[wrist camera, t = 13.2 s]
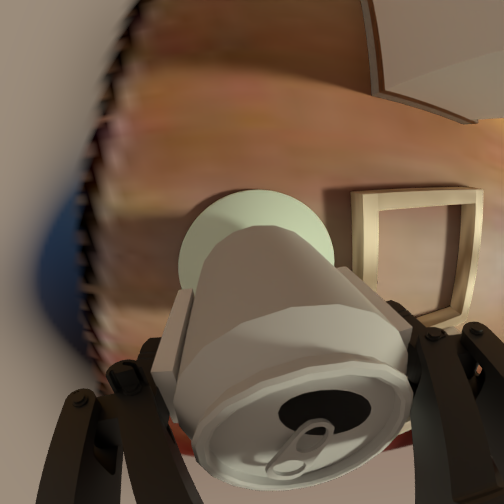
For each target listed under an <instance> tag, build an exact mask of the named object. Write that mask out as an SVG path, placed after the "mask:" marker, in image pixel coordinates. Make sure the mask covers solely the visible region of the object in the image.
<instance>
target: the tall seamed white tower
mask: <svg viewBox="0 0 504 504" xmlns="http://www.w3.org/2000/svg"><path fill="white" fill-rule="evenodd" d="M361 5H362V11H363V17H364V23H365V30H366V38H367V46H368V55H369V65H370V77H371V93H372V96H375V97H379V98H383V99H387V100H391V101H395V102H399V103H402V104H406V105H409V106H413V107H416V108H419V109H422V110H425V111H429V112H432V113H434V114H437V115H440V116H443V117H446V118H448V119H451V120H454V121H456V122H459V123H461V124H477V123H478V119H493V118H504V0H361Z"/></svg>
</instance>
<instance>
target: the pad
mask: <svg viewBox="0 0 504 504" xmlns="http://www.w3.org/2000/svg"><path fill="white" fill-rule="evenodd" d="M253 225H275V226H278V227H281V228H284V229H287V230H291V231H294V232H295V233H297V234H298V235H299V236H301V237H302V238H303V239H305V240H306V241H307V242H308V243H310V244H311V245H312V246H313V247H314V248H315V249H316V250H317V251H318V252H319V253H320V254H322V255H323V256H324V257H325V258H326V259H327V260H328V261H329V262H330V263H331V264H332V265H333V266H334V251H333V246H332V242H331V239H330V237H329V234H328V232H327V230H326V228H325V226H324V224H323V223H322V222H321V220H320V219H319V218H318V216H317V215H316V214H315V213H314V212H313V211H312V210H311V209H310V208H308V207H307V206H306V205H304V204H303V203H302V202H300V201H298V200H296V199H294V198H293V197H290V196H288V195H285V194H283V193H280V192H275V191H271V190H261V189H255V190H245V191H240V192H236V193H233V194H230V195H227V196H225V197H223V198H221V199H219V200H217V201H216V202H214V203H213V204H211V205H210V206H208V207H207V208H206V209H205V210H204V211H203V212H202V213H201V214H200V215H199V216H198V217H197V218H196V219H195V221H194V222H193V224H192V225H191V227H190V228H189V230H188V231H187V233H186V236H185V238H184V240H183V242H182V246H181V249H180V254H179V261H178V273H179V280H180V284H181V288H182V289H189V288H193V292H194V297H195V293H196V289H197V284H198V280H199V277H200V273H201V270H202V266H203V263H204V261H205V259H206V258H207V256H208V255H209V253H210V252H211V251H212V249H213V248H214V246H215V245H216V244H217V243H219V242H220V241H222V240H223V239H224V238H226V237H227V236H228V235H230V234H231V233H233V232H235V231H238V230H241V229H244V228H247V227H250V226H253Z"/></svg>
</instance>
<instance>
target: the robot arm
mask: <svg viewBox="0 0 504 504" xmlns="http://www.w3.org/2000/svg"><path fill="white" fill-rule="evenodd" d="M336 269H337V270H338V271H339V272H340V273H341V274H342V275H343V276H344V277H345V278H347V279H348V280H349V281H350V282H351V283H352V284H353V285H354V286H355V287H356V288H357V289H358V290H359V291H360V292H361V293H362V294H363V295H364V296H365V297H366V298H367V299H368V300H369V301H370V302H371V303H372V304H373V305H374V306H375V307H376V308H377V309H378V310H379V311H380V312H381V313H382V314H383V315H384V316H385V317H386V319H387V320H388V321H389V322H390V323H391V324H392V325H393V326H394V327H395V328H396V329H397V330H398V331H399V333H400V336H401V338H402V340H403V343H404V345H405V347H406V350H407V352H408V364H407V379H408V381H409V384H410V386H411V388H412V391H413V401H412V407H411V413H410V419H411V428H412V438H413V450H414V466H415V504H504V343H503V342H502V341H501V340H500V339H499V338H498V337H497V336H496V335H495V334H494V333H493V332H492V331H491V330H490V329H489V328H488V327H486V326H485V325H484V324H481V323H479V322H468V323H466V324H465V325H464V326H463V329H462V333H461V334H455V335H448V334H447V333H446V331H444V330H443V329H441V328H437V327H425V326H424V325H423V324H422V323H421V322H420V321H419V320H418V319H417V318H415V317H414V316H413V315H411V313H410V312H409V311H408V310H407V311H406V309H405V308H404V307H403V306H402V305H401V304H399V303H397V302H394V301H392V300H390V301H386V302H385V301H384V300H383V299H382V298H381V297H380V296H379V295H378V294H377V293H376V292H374V291H373V290H372V289H371V288H370V287H369V286H368V285H367V284H366V283H364V282H363V281H362V280H361V279H360V278H359V277H358V276H357V275H355V274H354V273H353V272H352V271H351V270H350V269H349V268H347V267H346V266H344V267H338V268H336ZM193 302H194V292H193V288H189V289H181V290H178V293H177V296H176V298H175V301H174V304H173V307H172V309H171V312H170V315H169V318H168V321H167V324H166V326H165V329H164V332H163V335H162V337H159V338H149V339H148V340H147V341H146V342H145V343H144V344H143V346H142V348H141V351H140V354H139V355H138V358H137V359H138V360H136V361H135V360H122V361H119V362H117V363H115V364H113V365H112V366H110V367H109V369H108V370H107V372H106V378H107V380H108V382H109V384H110V385H111V387H112V389H113V391H114V394H110V395H106V396H101V397H96V396H95V394H94V392H93V391H91V390H90V389H78V390H76V391H74V392H72V393H71V394H70V395H68V397H67V398H66V400H65V403H64V405H63V408H62V411H61V414H60V416H59V419H58V422H57V425H56V428H55V431H54V434H53V437H52V441H51V444H50V447H49V450H48V454H47V457H46V461H45V464H44V469H43V472H42V477H41V480H40V485H39V489H38V494H37V499H36V504H120V494H121V474H122V461H123V451H124V456H125V460H126V464H127V469H128V474H129V478H130V481H131V485H132V489H133V493H134V496H135V500H136V503H137V504H204V503H203V501H202V499H201V497H200V495H199V493H198V491H197V489H196V487H195V485H194V483H193V481H192V478H191V476H190V474H189V472H188V470H187V467H186V465H185V463H184V461H183V458H182V456H181V453H180V451H179V448H178V446H177V443H176V441H175V438H174V435H173V433H172V430H171V428H170V426H169V424H168V420H169V415H170V417H171V419H172V421H173V423H178V419H177V416H176V412H175V408H174V404H173V400H174V395H175V389H176V384H177V378H178V373H179V368H180V363H181V358H182V353H183V348H184V343H185V338H186V334H187V329H188V324H189V320H190V315H191V311H192V306H193ZM478 365H480V366H481V367H482V371H481V373H480V374H478V373H477V371H476V370H477V367H478Z"/></svg>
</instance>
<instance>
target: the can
mask: <svg viewBox="0 0 504 504" xmlns="http://www.w3.org/2000/svg"><path fill="white" fill-rule="evenodd" d="M407 364H408V352H407V350H406V347H405V345H404V343H403V340H402V338H401V336H400V333H399V331H398V330H397V329H396V328H395V327H394V326H393V325H392V324H391V323H390V322H389V321H388V320H387V319H386V317H385V316H384V315H383V314H382V313H381V312H380V311H379V310H378V309H377V308H376V307H375V306H374V305H373V304H372V303H371V302H370V301H369V300H368V299H367V298H366V297H365V296H364V295H363V294H362V293H361V292H360V291H359V290H358V289H357V288H356V287H355V286H354V285H353V284H352V283H351V282H350V281H349V280H348V279H347V278H345V277H344V276H343V275H342V274H341V273H340V272H339V271H338V270H337V269H336V268H335V267H334V266H333V265H332V264H331V263H330V262H329V261H328V260H327V259H326V258H325V257H324V256H323V255H322V254H320V253H319V252H318V251H317V250H316V249H315V248H314V247H313V246H312V245H311V244H310V243H308V242H307V241H306V240H305V239H303V238H302V237H301V236H299V235H298V234H297V233H295V232H294V231H291V230H287V229H284V228H281V227H278V226H275V225H253V226H250V227H247V228H244V229H241V230H238V231H235V232H233V233H231V234H230V235H228V236H227V237H226V238H224V239H223V240H222V241H220V242H219V243H217V244H216V245H215V246H214V248H213V249H212V251H211V252H210V253H209V255H208V256H207V258H206V259H205V261H204V263H203V266H202V270H201V273H200V277H199V280H198V284H197V289H196V293H195V297H194V302H193V306H192V311H191V315H190V320H189V324H188V329H187V334H186V338H185V343H184V348H183V353H182V358H181V363H180V368H179V373H178V378H177V384H176V389H175V395H174V400H173V404H174V408H175V412H176V416H177V419H178V423H179V426H180V427H181V429H182V430H183V431H184V432H185V433H186V435H187V436H188V437H189V438H190V439H191V440H192V442H191V444H192V448H193V452H194V455H195V458H196V461H197V462H198V463H199V464H200V465H201V466H202V467H203V468H204V469H205V470H206V471H207V472H208V473H209V474H210V475H211V476H213V477H215V478H217V479H219V480H221V481H224V482H226V483H228V484H230V485H232V486H237V487H241V488H246V489H251V490H258V491H286V490H293V489H300V488H306V487H311V486H315V485H318V484H321V483H324V482H328V481H331V480H333V479H336V478H339V477H341V476H343V475H345V474H347V473H349V472H351V471H353V470H355V469H357V468H359V467H361V466H362V465H364V464H365V463H367V462H368V461H369V460H371V459H372V458H374V457H375V456H376V455H378V454H379V453H381V452H382V451H383V450H384V449H385V448H386V447H387V446H388V445H389V444H390V443H391V442H392V441H393V440H394V439H395V437H396V436H397V435H398V434H399V433H400V431H401V429H402V427H403V426H404V424H405V422H406V420H407V419H408V417H409V415H410V413H411V407H412V401H413V391H412V388H411V386H410V384H409V381H408V379H407Z"/></svg>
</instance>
